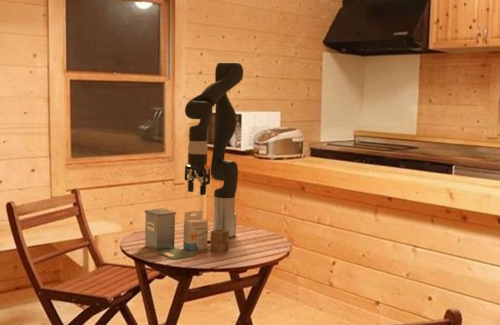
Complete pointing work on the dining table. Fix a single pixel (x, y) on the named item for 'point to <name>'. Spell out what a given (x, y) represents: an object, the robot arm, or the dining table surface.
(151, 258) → the dining table surface
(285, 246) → the dining table surface
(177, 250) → the pad
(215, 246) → the walnut block
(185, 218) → the ink box
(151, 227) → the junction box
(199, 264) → the dining table surface
